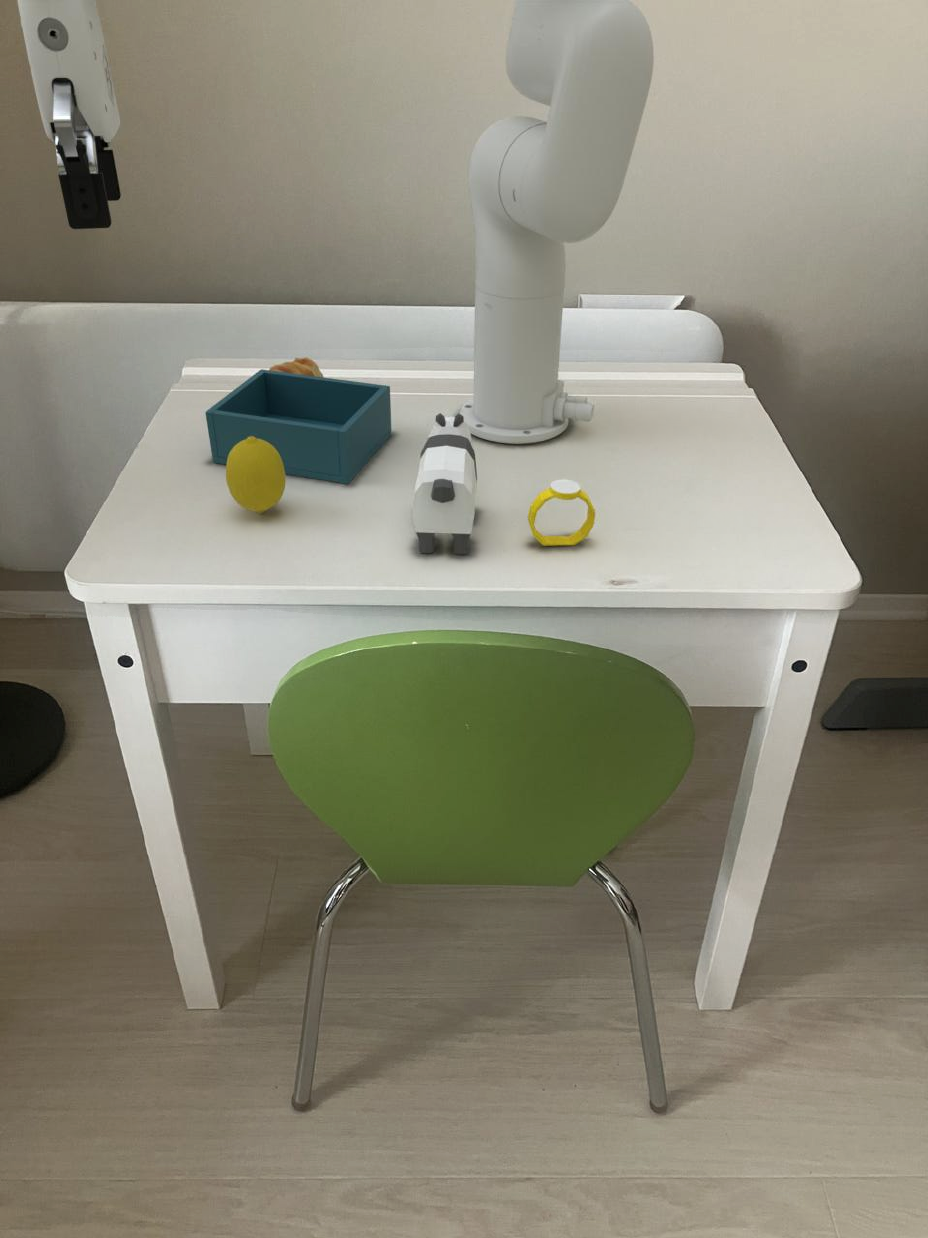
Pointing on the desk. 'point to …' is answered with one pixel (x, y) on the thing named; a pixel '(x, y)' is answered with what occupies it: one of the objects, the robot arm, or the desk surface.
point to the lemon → (255, 474)
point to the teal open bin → (304, 422)
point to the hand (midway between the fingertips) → (97, 213)
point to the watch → (564, 492)
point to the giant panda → (446, 485)
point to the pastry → (299, 367)
